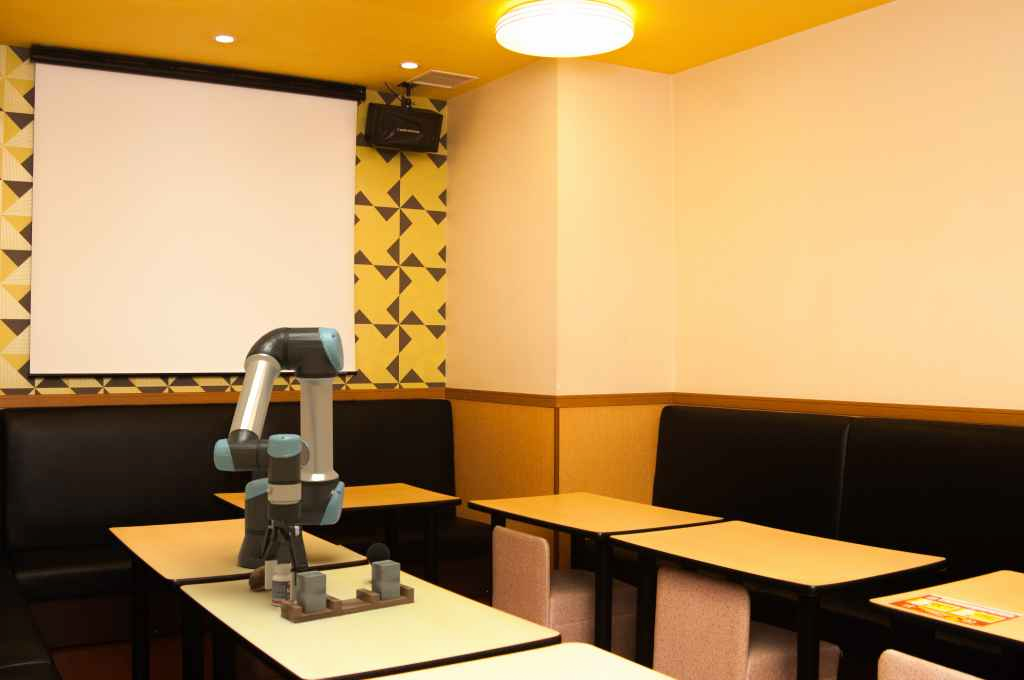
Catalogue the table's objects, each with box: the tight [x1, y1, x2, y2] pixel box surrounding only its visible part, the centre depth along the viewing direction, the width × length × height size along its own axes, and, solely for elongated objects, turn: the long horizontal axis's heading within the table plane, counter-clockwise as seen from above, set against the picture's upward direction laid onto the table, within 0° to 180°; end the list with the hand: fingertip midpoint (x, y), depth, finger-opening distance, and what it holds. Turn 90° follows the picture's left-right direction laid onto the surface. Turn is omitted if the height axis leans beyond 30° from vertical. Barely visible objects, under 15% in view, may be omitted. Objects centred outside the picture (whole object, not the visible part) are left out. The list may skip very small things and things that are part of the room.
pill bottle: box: [271, 564, 296, 607], centre depth 232 cm, size 5×5×9 cm
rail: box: [280, 559, 415, 624], centre depth 228 cm, size 7×30×9 cm, turn 128°
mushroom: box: [248, 566, 265, 592], centre depth 246 cm, size 8×8×6 cm
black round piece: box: [366, 542, 391, 568], centre depth 253 cm, size 6×6×10 cm
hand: (283, 594), depth 232 cm, fingers open, 13 cm apart
